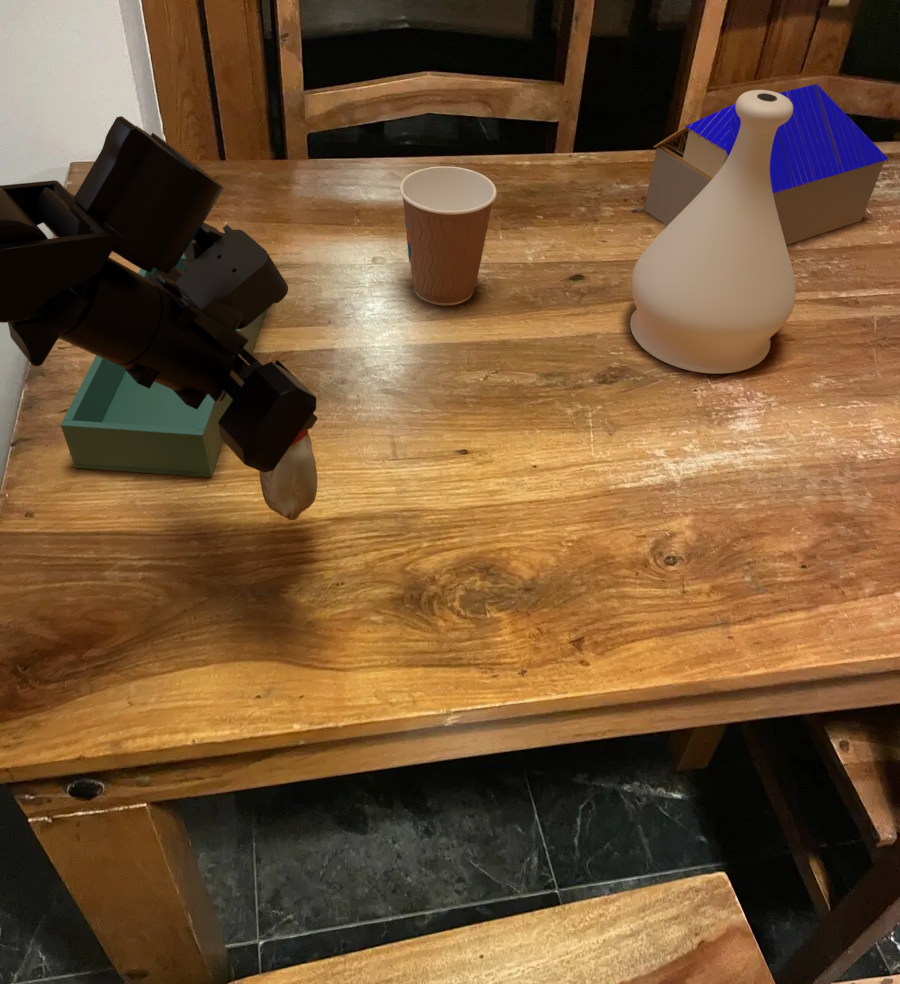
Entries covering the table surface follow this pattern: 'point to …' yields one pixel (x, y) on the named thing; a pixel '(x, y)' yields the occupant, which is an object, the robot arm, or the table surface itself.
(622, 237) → the table surface
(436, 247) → the coffee cup
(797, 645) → the table surface
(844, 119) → the house
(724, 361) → the vase
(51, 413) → the table surface
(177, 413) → the bin
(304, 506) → the chocolate bunny
